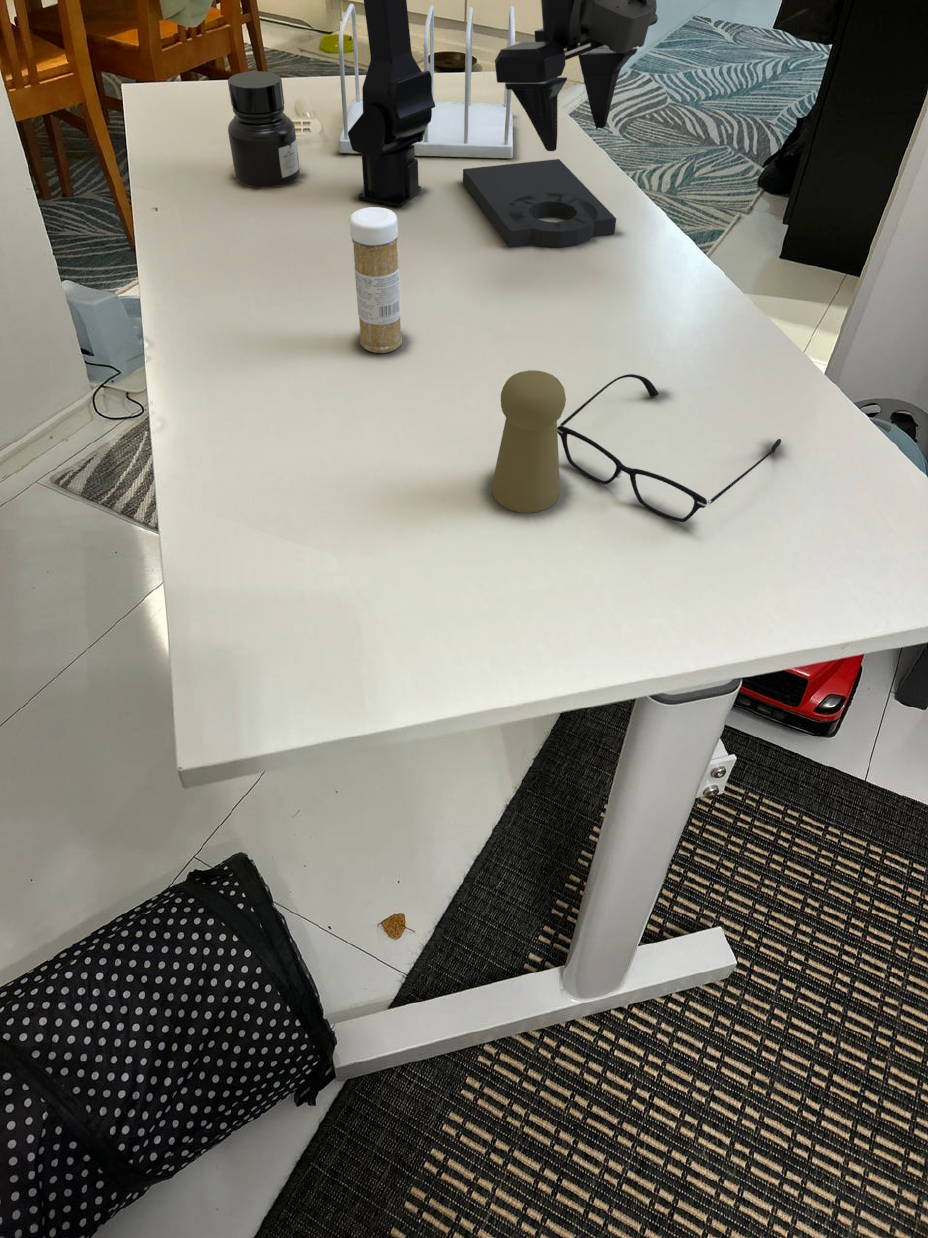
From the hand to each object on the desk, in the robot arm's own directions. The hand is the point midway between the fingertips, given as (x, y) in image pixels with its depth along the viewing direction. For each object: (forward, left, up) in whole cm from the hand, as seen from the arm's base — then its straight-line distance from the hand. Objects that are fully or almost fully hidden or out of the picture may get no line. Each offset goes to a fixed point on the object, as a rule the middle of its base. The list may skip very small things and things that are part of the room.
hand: (576, 138), depth 98 cm
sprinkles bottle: (-11, -26, -14) cm, 32 cm away
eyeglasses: (+22, -32, -14) cm, 41 cm away
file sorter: (-33, +30, -14) cm, 47 cm away
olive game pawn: (+12, -42, -14) cm, 46 cm away
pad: (-9, +13, -14) cm, 21 cm away
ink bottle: (-46, +6, -14) cm, 48 cm away
